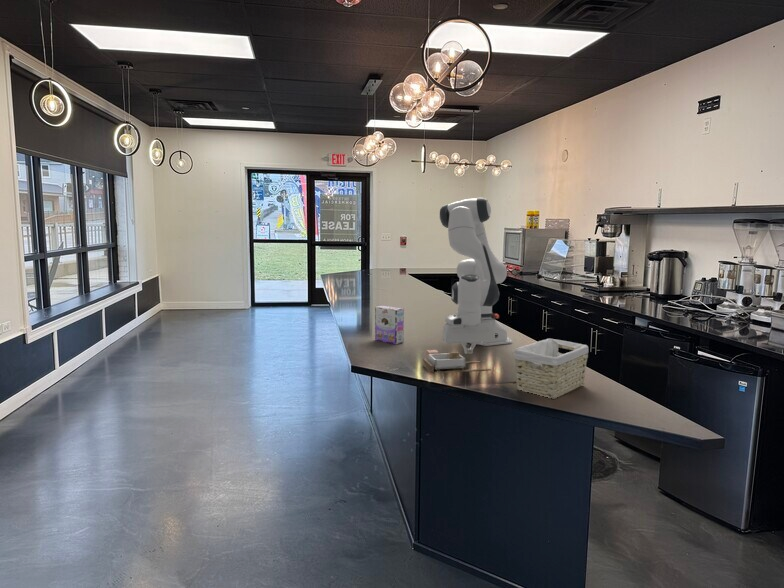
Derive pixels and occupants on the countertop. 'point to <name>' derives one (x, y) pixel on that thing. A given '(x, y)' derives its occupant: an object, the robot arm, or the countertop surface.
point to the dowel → (453, 355)
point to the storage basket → (550, 367)
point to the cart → (446, 361)
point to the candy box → (389, 324)
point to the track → (431, 369)
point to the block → (431, 352)
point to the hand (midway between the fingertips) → (468, 353)
